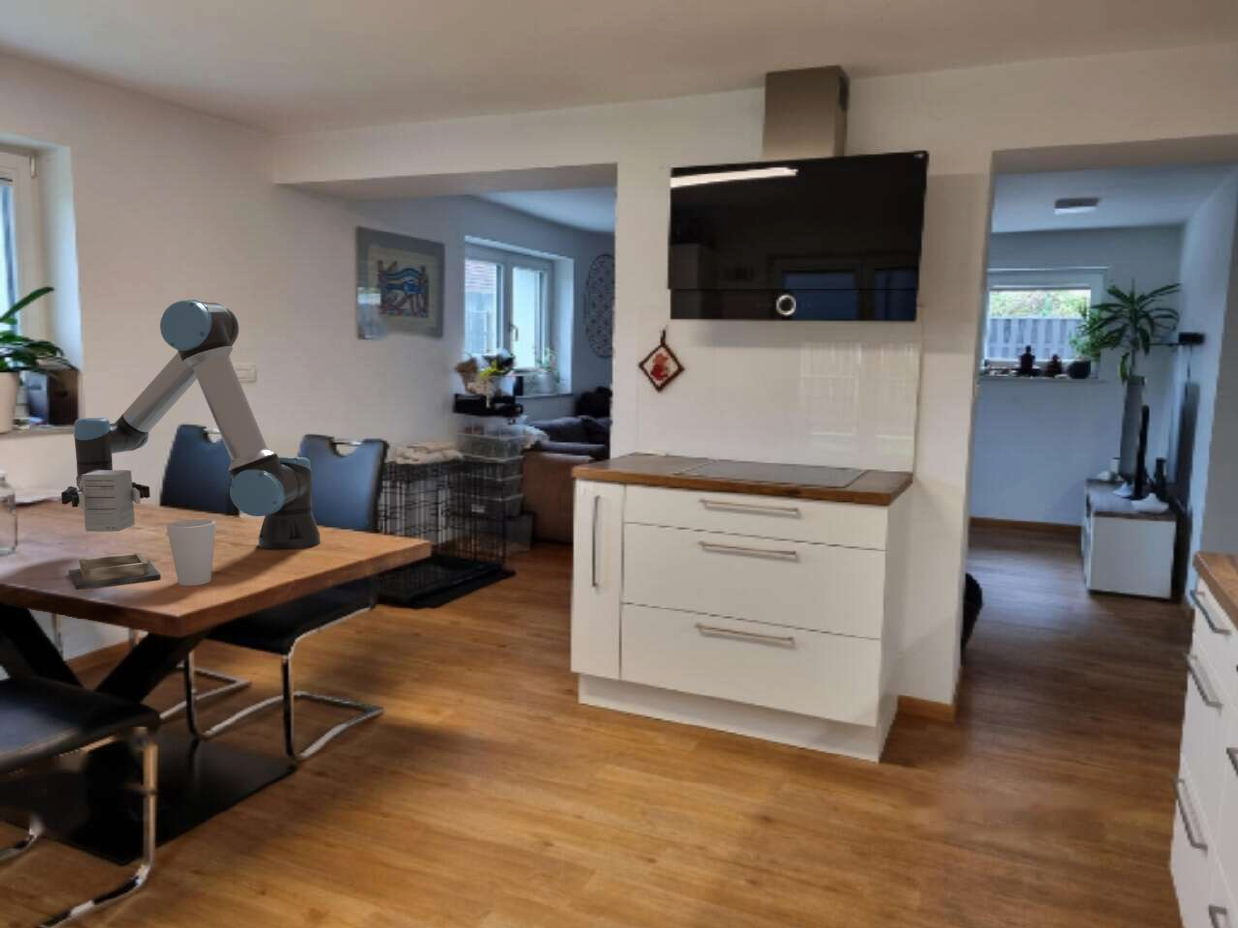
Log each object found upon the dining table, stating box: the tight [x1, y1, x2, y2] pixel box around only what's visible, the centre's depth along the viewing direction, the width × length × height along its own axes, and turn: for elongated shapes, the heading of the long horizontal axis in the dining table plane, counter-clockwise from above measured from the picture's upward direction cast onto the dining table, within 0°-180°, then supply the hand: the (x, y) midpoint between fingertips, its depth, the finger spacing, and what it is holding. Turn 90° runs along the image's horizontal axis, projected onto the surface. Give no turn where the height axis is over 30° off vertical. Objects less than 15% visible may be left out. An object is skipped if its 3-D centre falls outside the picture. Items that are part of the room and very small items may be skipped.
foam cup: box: [166, 518, 217, 587], centre depth 188 cm, size 10×9×13 cm
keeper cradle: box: [68, 552, 162, 591], centre depth 192 cm, size 16×16×4 cm
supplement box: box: [81, 469, 136, 533], centre depth 191 cm, size 7×7×13 cm
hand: (110, 499), depth 187 cm, fingers closed on supplement box, 10 cm apart
